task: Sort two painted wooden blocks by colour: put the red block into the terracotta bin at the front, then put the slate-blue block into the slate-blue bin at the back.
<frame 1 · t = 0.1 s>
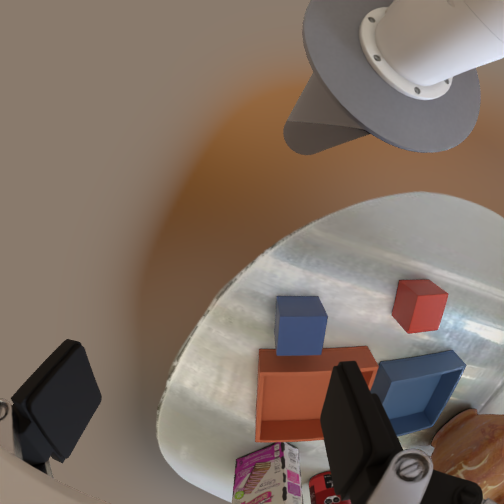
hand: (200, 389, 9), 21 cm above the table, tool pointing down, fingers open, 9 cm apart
blue block: (296, 314, 31), on the table
canned food: (326, 477, 43), on the table
blue bin: (405, 390, 35), on the table
rust bin: (308, 388, 34), on the table
candy bar box: (265, 453, 40), on the table
jug: (453, 426, 40), on the table
red block: (410, 297, 31), on the table
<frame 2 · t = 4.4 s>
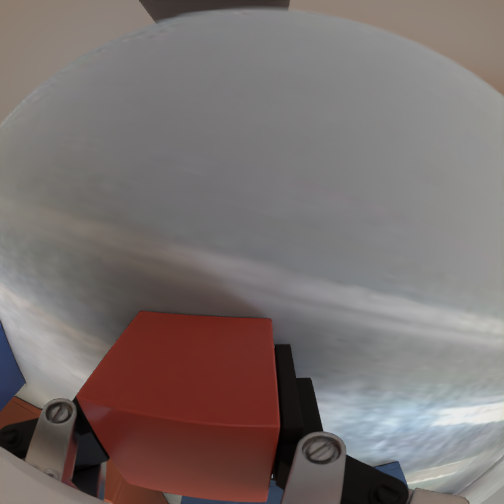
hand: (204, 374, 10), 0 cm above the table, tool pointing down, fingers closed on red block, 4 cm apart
rust bin: (82, 464, 14), on the table
red block: (206, 367, 10), on the table, touching gripper
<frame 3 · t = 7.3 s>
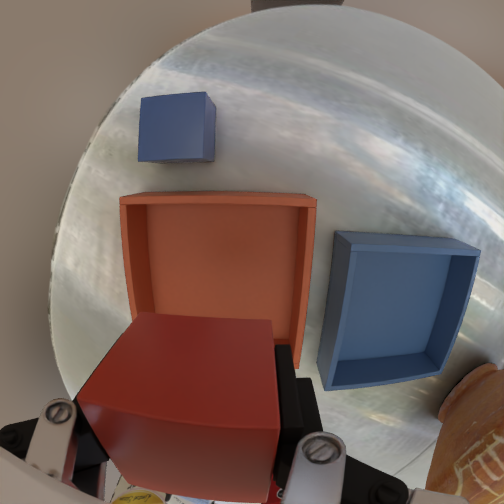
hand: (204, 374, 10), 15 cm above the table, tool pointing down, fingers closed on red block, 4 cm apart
blue block: (187, 134, 21), on the table
canned food: (286, 458, 33), on the table
blue bin: (390, 303, 25), on the table
rust bin: (220, 271, 25), on the table
candy bar box: (185, 404, 30), on the table
jug: (466, 391, 30), on the table
red block: (206, 368, 10), point 15 cm above the table, touching gripper
when the fingers open (3 cm above the table, at t = 10.5 s): red block drops 2 cm, resting on rust bin.
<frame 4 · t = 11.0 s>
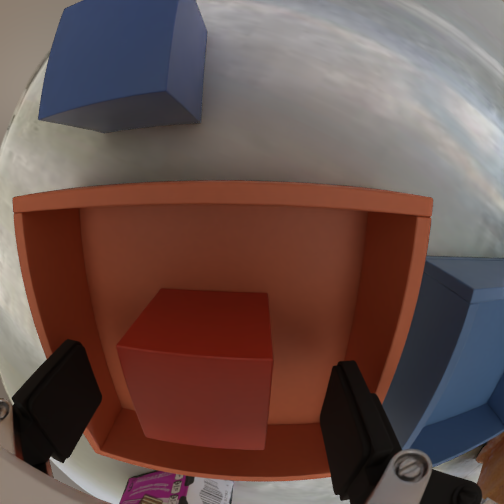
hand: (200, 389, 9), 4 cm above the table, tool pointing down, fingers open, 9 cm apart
blue block: (152, 79, 10), on the table
blue bin: (467, 354, 14), on the table
rust bin: (215, 330, 13), on the table
candy bar box: (174, 478, 18), on the table
red block: (214, 336, 13), point 1 cm above the table, touching rust bin
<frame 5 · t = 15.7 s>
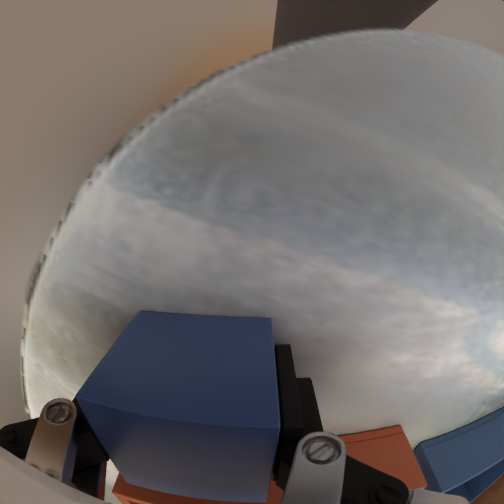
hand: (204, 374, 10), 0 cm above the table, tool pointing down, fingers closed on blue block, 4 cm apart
blue block: (206, 367, 10), on the table, touching gripper
blue bin: (447, 465, 14), on the table
rust bin: (265, 490, 13), on the table
jug: (487, 475, 19), on the table
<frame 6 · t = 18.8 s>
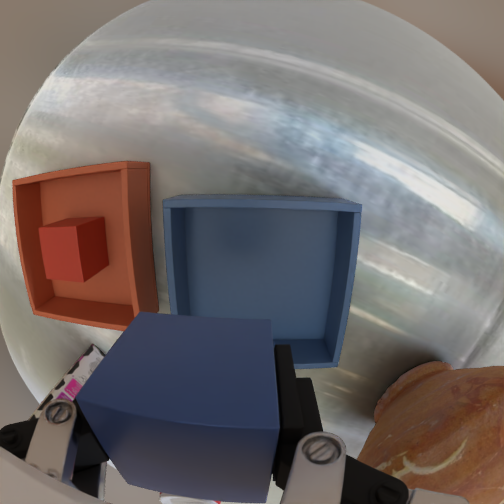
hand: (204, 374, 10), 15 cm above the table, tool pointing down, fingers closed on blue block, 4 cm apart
blue block: (206, 368, 10), point 15 cm above the table, touching gripper
canned food: (199, 446, 33), on the table
blue bin: (260, 274, 25), on the table
rust bin: (90, 240, 24), on the table
candy bar box: (90, 371, 29), on the table
jug: (412, 393, 30), on the table
red block: (87, 241, 24), point 1 cm above the table, touching rust bin
when the fingers open (3 cm above the table, at t = 22.1 s): blue block drops 2 cm, resting on blue bin.
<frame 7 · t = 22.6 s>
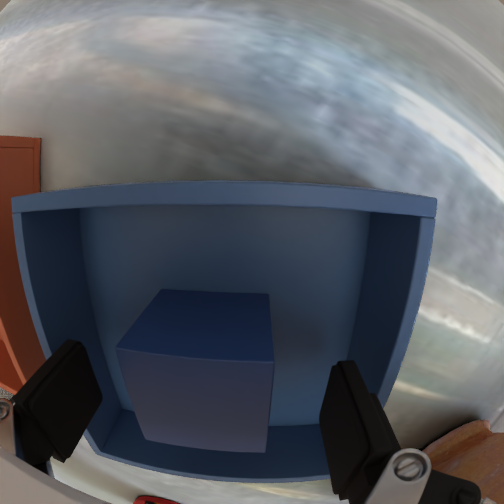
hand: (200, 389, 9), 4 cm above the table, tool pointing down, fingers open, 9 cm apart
blue block: (215, 338, 12), point 1 cm above the table, touching blue bin
blue bin: (217, 331, 13), on the table
jug: (437, 455, 18), on the table
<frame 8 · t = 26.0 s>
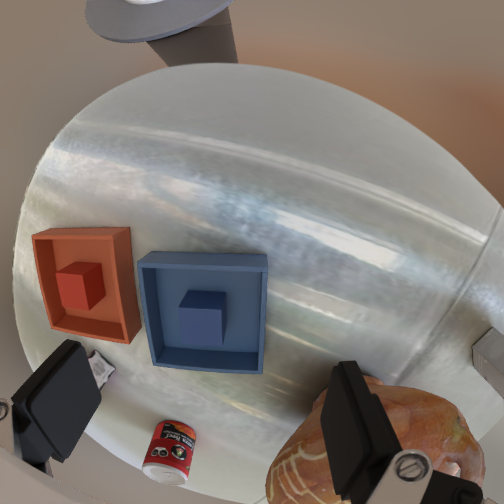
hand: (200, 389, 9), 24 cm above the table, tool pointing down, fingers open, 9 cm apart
blue block: (207, 308, 34), point 1 cm above the table, touching blue bin
canned food: (176, 430, 42), on the table
cosmetic box: (483, 346, 37), on the table
blue bin: (208, 306, 35), on the table
rust bin: (92, 277, 34), on the table
candy bar box: (92, 370, 39), on the table
jug: (347, 400, 39), on the table
red block: (89, 278, 33), point 1 cm above the table, touching rust bin
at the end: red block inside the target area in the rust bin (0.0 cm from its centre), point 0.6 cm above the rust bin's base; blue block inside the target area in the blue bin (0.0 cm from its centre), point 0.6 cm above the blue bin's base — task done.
